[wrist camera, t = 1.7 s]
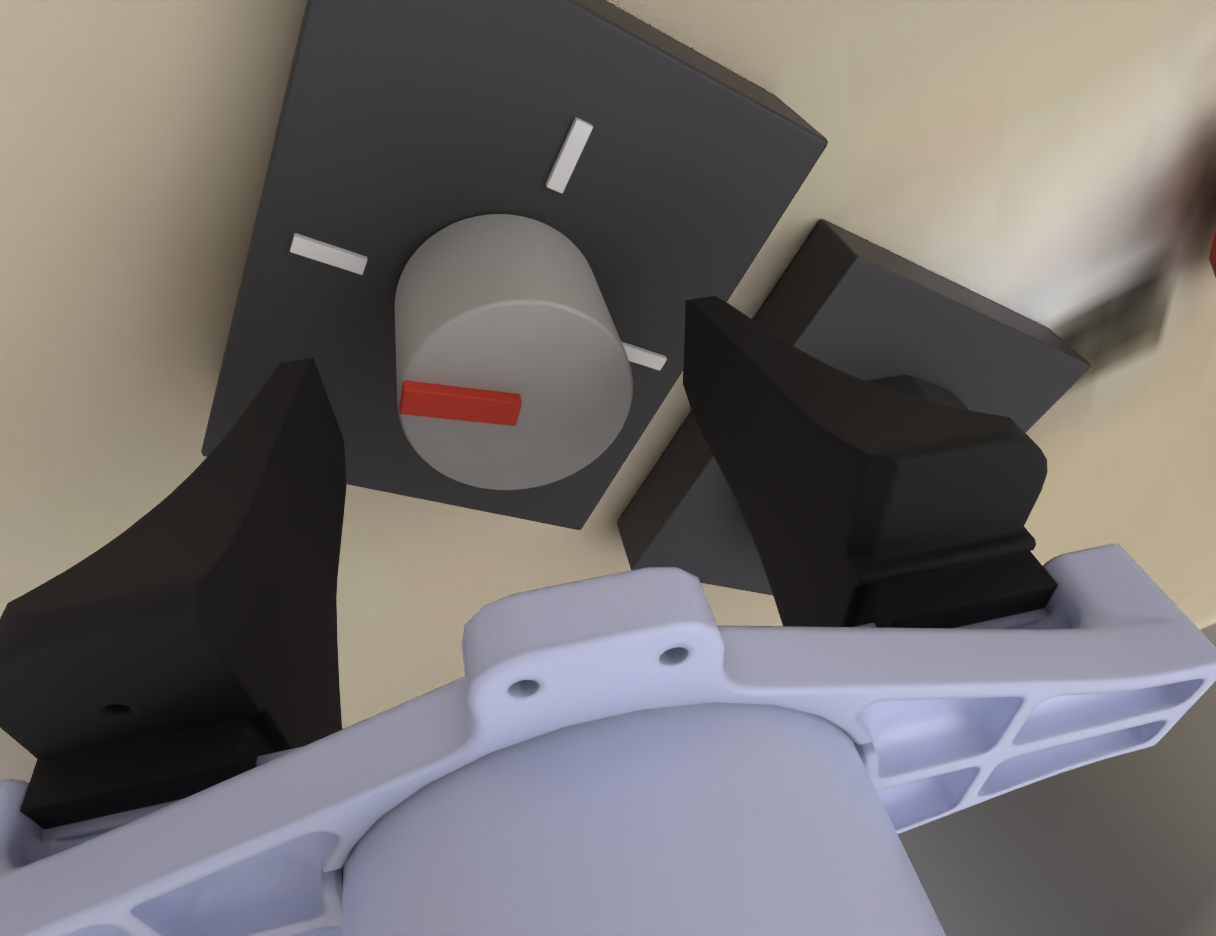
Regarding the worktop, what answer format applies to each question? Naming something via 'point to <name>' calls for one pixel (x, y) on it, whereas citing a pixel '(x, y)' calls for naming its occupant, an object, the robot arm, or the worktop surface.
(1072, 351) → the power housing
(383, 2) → the timer panel
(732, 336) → the robot arm
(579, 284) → the timer dial
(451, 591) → the worktop surface
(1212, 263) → the onion
